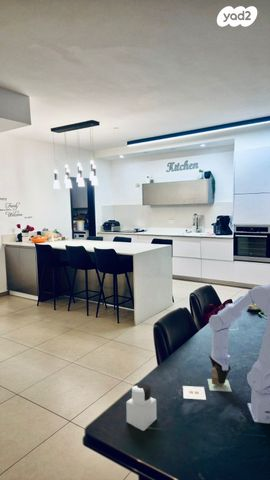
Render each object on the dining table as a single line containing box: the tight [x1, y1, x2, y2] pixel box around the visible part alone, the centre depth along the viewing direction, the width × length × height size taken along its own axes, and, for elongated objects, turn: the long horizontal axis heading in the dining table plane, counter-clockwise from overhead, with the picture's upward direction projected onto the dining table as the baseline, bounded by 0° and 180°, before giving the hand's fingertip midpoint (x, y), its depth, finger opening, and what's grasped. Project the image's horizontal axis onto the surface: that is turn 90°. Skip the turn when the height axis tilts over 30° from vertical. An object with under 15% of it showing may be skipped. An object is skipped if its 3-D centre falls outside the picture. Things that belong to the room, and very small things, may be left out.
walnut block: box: [211, 364, 224, 386], centre depth 121 cm, size 4×4×6 cm
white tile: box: [182, 385, 207, 401], centre depth 117 cm, size 8×8×1 cm
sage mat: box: [207, 378, 233, 392], centre depth 121 cm, size 8×8×1 cm
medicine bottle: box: [125, 382, 157, 432], centre depth 101 cm, size 7×7×12 cm
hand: (219, 378), depth 121 cm, fingers closed on walnut block, 5 cm apart
